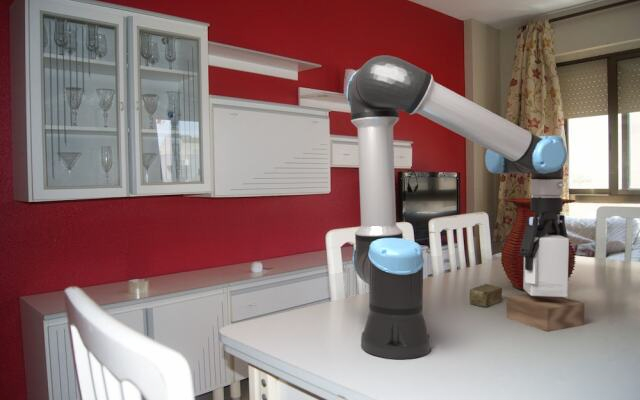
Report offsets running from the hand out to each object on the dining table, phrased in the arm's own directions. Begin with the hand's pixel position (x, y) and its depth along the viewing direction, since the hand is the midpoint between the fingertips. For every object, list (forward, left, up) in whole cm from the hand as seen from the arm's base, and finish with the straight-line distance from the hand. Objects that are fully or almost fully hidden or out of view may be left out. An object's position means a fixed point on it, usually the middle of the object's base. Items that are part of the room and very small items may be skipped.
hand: (544, 280), depth 128 cm
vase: (+34, +22, -11) cm, 42 cm away
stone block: (+4, +21, -11) cm, 24 cm away
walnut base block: (0, 0, -11) cm, 11 cm away
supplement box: (0, 0, -4) cm, 4 cm away
